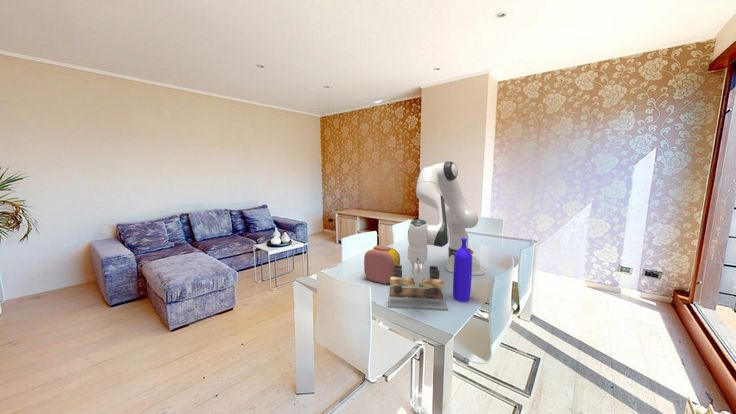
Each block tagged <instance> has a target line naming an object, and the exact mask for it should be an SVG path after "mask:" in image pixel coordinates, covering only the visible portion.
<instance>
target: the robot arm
mask: <svg viewBox="0 0 736 414" xmlns="http://www.w3.org/2000/svg"><path fill="white" fill-rule="evenodd" d="M458 171H459V169H458V167H457V165H456V164H455V163H454V162H453V161H444V162H440V163H436V164H433V165H429V166H425V167H423V168H422V169H420V170H419V172H418V175H417V182H416V186H415V187H416V188H415V195H416V197H417V199H418V200H419V201H420V202H421V203H423V204H424V205H427V206H430V207H431V208H433V209H435V210H436V212H437V224H428V223H427V221H426V220H424V219H420V218H419V219H413V220H411V221H410V222H409V225H408V226H409V227H408V229H407V241H408V246H407V260H408V261H409V263H410V264H411V267H412V269H411V270H412V278H414V283H415V287H414V288H420V287H419V283H422V281H423V278H424V277H423V276H424V272H423V271H424V269H423V268H424V267H423V265H425V262H428V246H434V247H438V248H442V247H445V246H446V245H447V244H448V243H449V246H448V249H447V256H448V257H447V262H446V266H445V270H446V271H447V272H450V273H452V274H453V273H454V258H455V253H456V252H457V251H458V250H459V249H460V248H461V246H462V240H461V238H466V239H468V240H467V241H466V247H467V249H468V250H469V251H470V253H471V254H472V276H475V275H477V276H479V275H480V276H481V275H485V270H484V269H483V267H481V263H480V261H479V259H478V258H476V257H475V256H474V255H473V254H475V252H474V250H472V249H471V248H470V247H469V233H467V231H466V229H472V228H475V227H476V226H477V224H478V223H479V216H478V214H477V212H475V211H474V210H473V209H472V208H471V206H470V205H469V204H468V202H467V200H466V198H465V196H464V195H463V192H462V189H461V186H460V184H459V181H458V179H457V177H458V175H459V173H458ZM439 190H440V192H439ZM446 206H447V207H446Z"/></svg>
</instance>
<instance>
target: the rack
mask: <svg viewBox="0 0 736 414" xmlns="http://www.w3.org/2000/svg"><path fill="white" fill-rule="evenodd" d="M440 272H441V271H440V270H439V266H436V265H434V266H433V265H429V279H440ZM394 277H403V265H402V264H400V265H394ZM406 297H408V299H429V300H444V295H443V291H442V288H427V287H406V286H389V298H406Z"/></svg>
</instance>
